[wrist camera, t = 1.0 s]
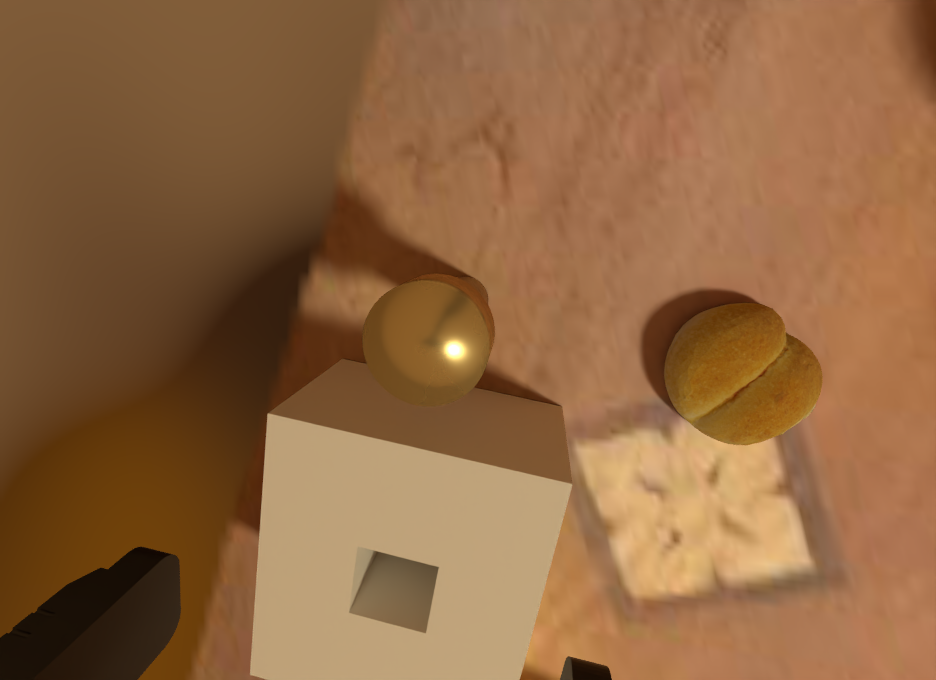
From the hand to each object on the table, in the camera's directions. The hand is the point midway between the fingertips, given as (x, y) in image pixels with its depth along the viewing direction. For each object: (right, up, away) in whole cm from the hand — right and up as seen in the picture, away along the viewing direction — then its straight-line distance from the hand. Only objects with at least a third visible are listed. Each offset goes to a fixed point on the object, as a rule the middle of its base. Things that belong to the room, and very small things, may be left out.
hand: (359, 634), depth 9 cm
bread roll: (+19, +4, +22) cm, 29 cm away
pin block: (-1, -6, +27) cm, 27 cm away
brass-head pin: (+2, +9, +23) cm, 24 cm away
